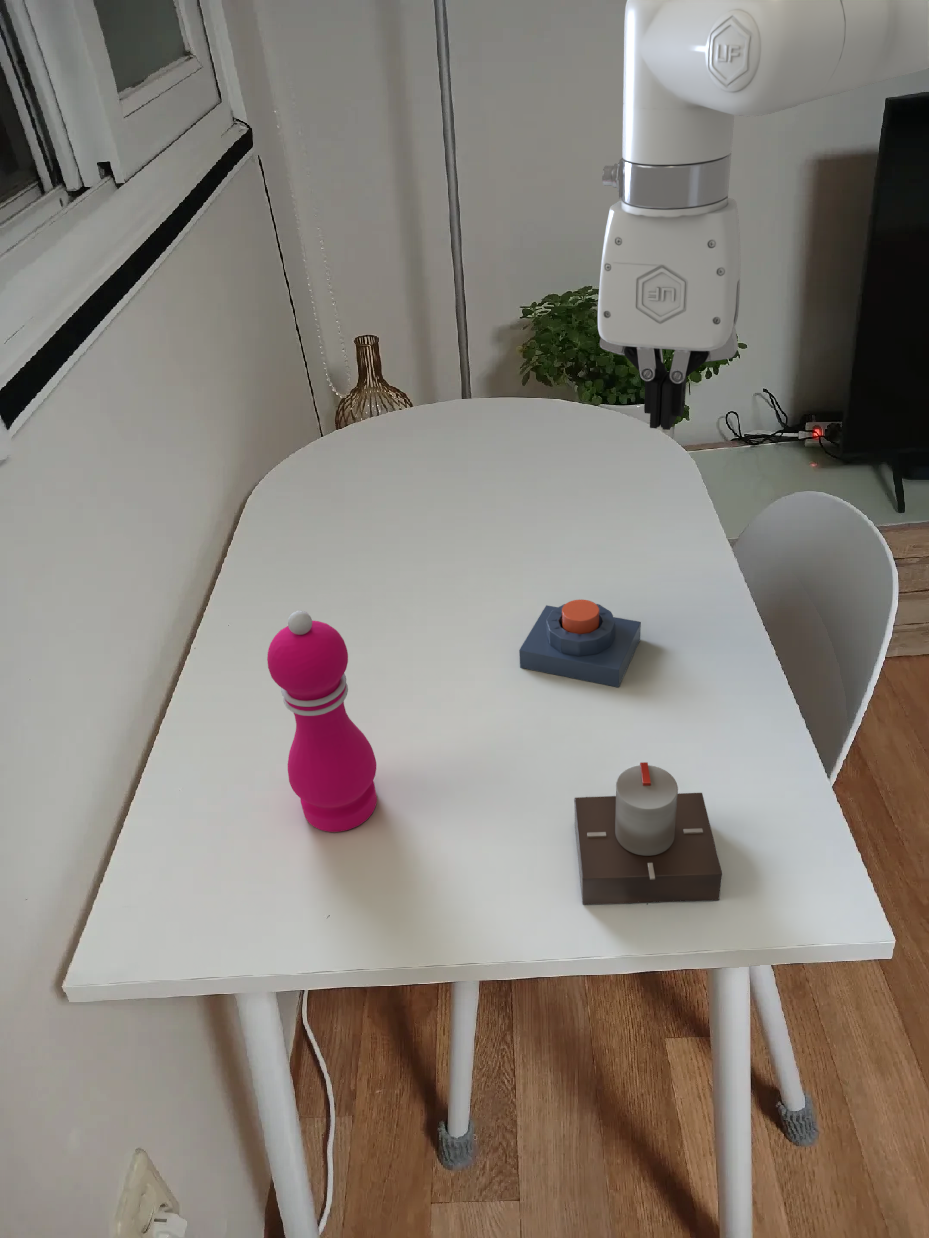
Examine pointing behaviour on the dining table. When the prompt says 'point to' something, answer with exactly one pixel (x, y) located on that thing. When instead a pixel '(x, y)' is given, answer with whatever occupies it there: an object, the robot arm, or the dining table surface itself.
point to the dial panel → (646, 857)
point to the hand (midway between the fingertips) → (663, 422)
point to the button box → (581, 648)
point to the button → (580, 616)
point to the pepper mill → (322, 726)
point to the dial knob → (645, 809)
